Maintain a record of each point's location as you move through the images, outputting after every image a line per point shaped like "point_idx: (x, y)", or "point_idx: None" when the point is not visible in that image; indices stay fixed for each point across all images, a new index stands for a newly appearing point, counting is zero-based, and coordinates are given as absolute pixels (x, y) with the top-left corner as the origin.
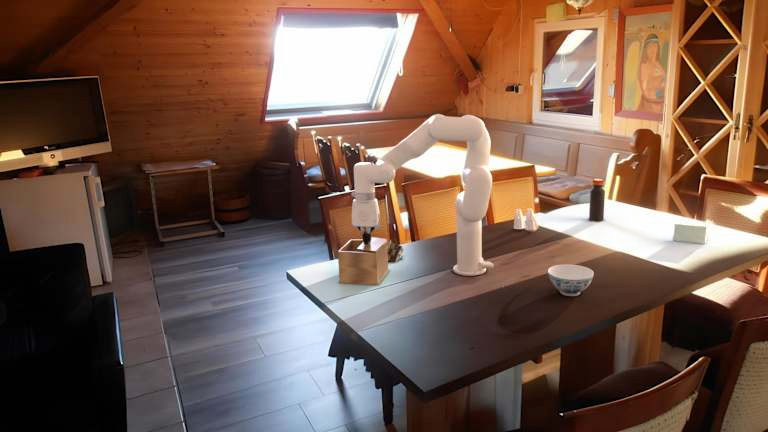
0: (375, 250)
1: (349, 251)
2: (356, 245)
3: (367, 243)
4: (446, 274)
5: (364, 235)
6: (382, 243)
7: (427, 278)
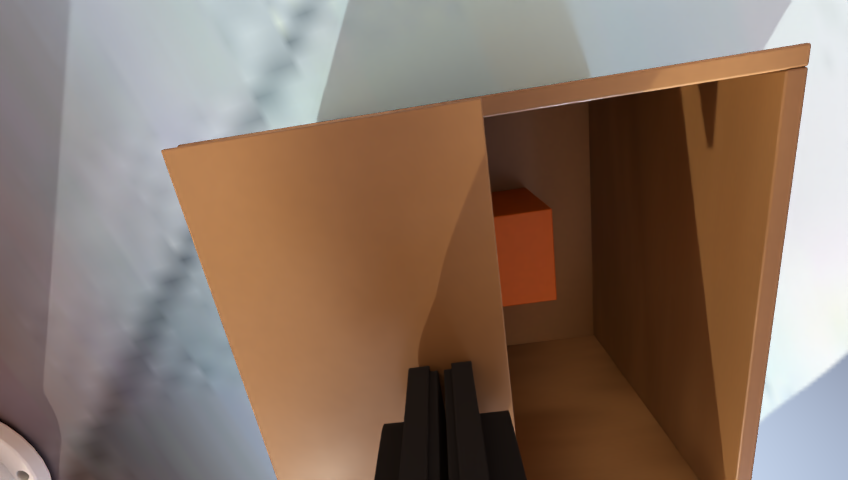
0: (185, 178)
1: (670, 374)
2: (639, 472)
3: (416, 369)
4: (39, 397)
5: (470, 475)
6: (275, 465)
7: (94, 318)
